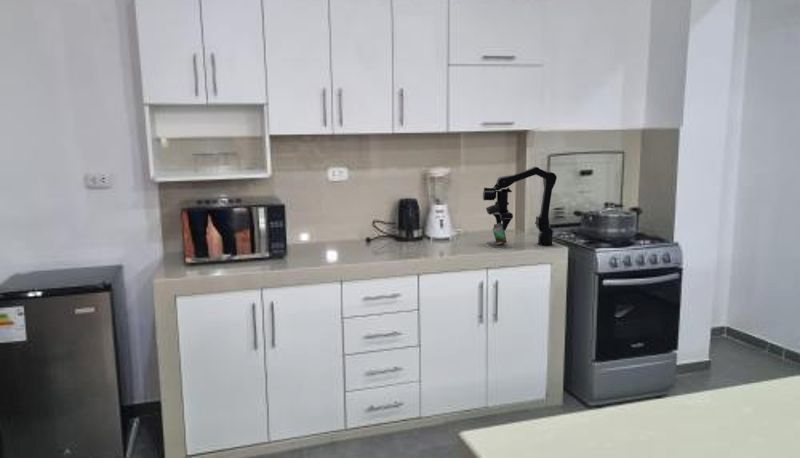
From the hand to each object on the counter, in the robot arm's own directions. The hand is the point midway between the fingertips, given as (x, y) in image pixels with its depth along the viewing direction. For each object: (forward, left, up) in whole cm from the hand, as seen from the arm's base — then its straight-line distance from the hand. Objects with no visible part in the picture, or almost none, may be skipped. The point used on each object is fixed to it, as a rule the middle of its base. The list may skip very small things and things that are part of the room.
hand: (501, 228), depth 321 cm
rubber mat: (+3, +1, -9) cm, 9 cm away
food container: (-1, +1, -8) cm, 8 cm away
